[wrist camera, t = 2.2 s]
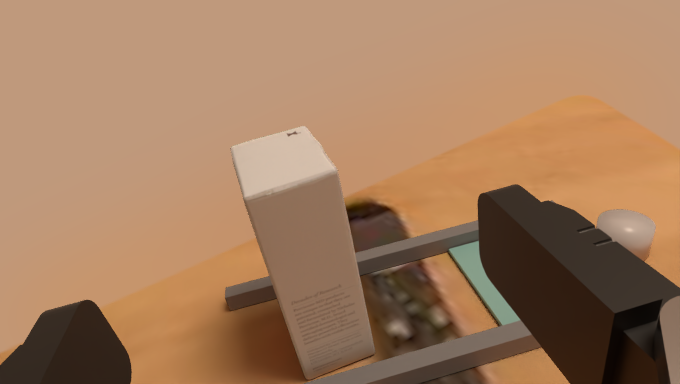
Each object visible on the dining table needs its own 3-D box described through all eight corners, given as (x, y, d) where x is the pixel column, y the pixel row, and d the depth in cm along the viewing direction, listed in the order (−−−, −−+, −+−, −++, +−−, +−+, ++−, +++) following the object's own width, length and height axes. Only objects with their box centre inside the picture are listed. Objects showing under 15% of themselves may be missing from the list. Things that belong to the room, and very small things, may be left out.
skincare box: (283, 309, 28) (227, 144, 22) (344, 287, 29) (307, 122, 23) (305, 386, 23) (240, 197, 17) (378, 357, 23) (341, 166, 17)
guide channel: (225, 441, 21) (212, 417, 20) (231, 300, 29) (222, 279, 28) (715, 294, 23) (726, 266, 22) (587, 204, 32) (591, 180, 31)
